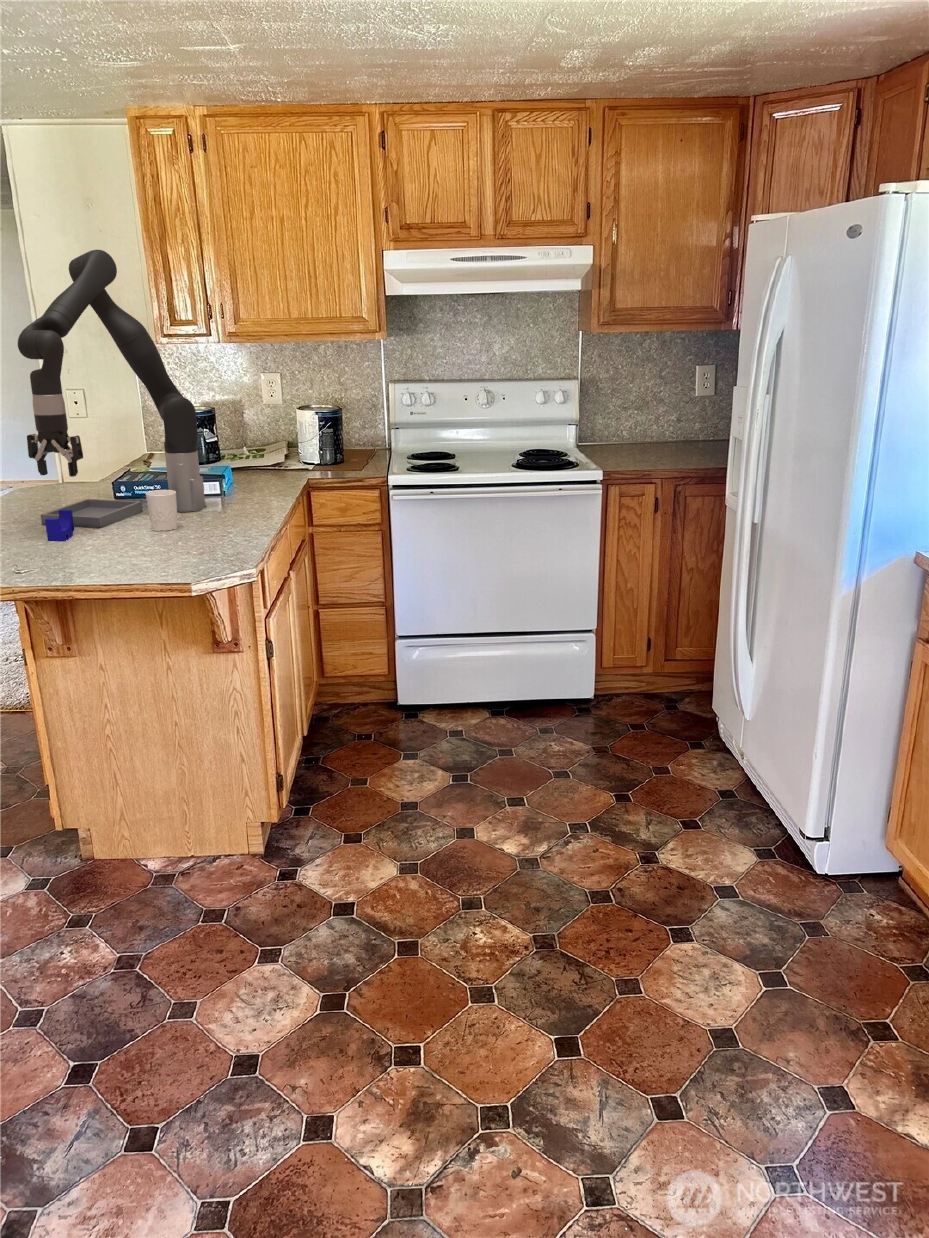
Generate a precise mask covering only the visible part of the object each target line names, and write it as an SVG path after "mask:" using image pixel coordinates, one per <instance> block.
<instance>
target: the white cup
mask: <svg viewBox="0 0 929 1238" xmlns="http://www.w3.org/2000/svg"><path fill="white" fill-rule="evenodd" d="M145 498H146V505H147V511H148V515H149V521H150V526H151V530H152V529H153V530H152V531H154V530H158V531H157V532H161V531H160V530H170V531H172V530H171V529H174V528H176V529H177V528H178V512H177V501H176V491H173V490H169V489H155V490H150V491H147V492H145ZM174 530H175V529H174Z"/></svg>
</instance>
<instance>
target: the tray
mask: <svg viewBox="0 0 929 1238" xmlns="http://www.w3.org/2000/svg"><path fill="white" fill-rule="evenodd" d="M69 509H72V515H73V522H74V528H83V529H84V528H86V529H99V528H101V529H103V528H105V527H108V526H110V524H111V525H113V524H115V522H116V523H118V522H120V521H123V520H125V519H127V518H130V517H133V516H135V515H138V514H140V513H142V512H144V509H143V501H137V500H135V501H134V500H119V499H101V498H100V499H97V498H86V499H83V500H79V501H76V502H74V503H71V504H68V505H65V506H62V507H58V508H56V509H54V510H50V511H46V512H44V513H42V514H40V520H41V526H46V524H45V519H47V518H59V510H69ZM117 521H118V522H117ZM112 523H113V524H112Z"/></svg>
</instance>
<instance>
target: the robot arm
mask: <svg viewBox="0 0 929 1238" xmlns="http://www.w3.org/2000/svg"><path fill="white" fill-rule="evenodd" d="M117 269H118V268H117V264H116V262H115V260H114V259H113V257H112V255H110V254H109V253H108V252H107V251H105V250H103V249H92V250H89V251H87V252H85V253H83V254H80V255H79V256H77V257H74V258H72V259H71V261H70V262H69V264H68V273H69V276H70V278H71V280H72V283H71V284H70V285H69V286H68V287H67V288H65V290H64V291H62V292H61V293H60V294H59V295H57V297H55V299H53V301H52V302H51V303H50V304H49V306H48V307H47V309H46V310H44V313H43V314H42V315H41V316H40V317H38V318H37V319H35V320H33V322H31V323H30V324H28V325H27V326H26V327H25V328H24V329H22V331H21V333H20V334H19V335H18V338H17V347H18V351H19V353H20V354H21V356H23V357H25V358H26V359H29V360H42V366H41V368H39V369H34V370H33V371H31V372H30V375H29V379H30V381H29V382H30V386H31V387H30V388H31V395H32V410H33V415H34V416H33V417H34V422H35V430H36V432H37V434H36V433H30V434H27V435H26V443H27V454H28V458H29V459H33V460H35V461H36V464H37V465H36V467H37V471H38V473H39V475H40V476H47V475H48V473H49V472H48V467H47V466H48V465H47V460H46V457H47V455H48V454H50V453H56V454H60V455H61V456H63V457H64V458H65V459H66V461H68V462H67V467H68V468H67V469H68V474H69V477H71V478H73V477H77V475H78V474H79V470H78V461H80V460H82V459H84V452H83V447H82V442H81V437H80V435H73V436H70V435H69V433H68V430H69V426H68V418H67V411H66V403H65V402H66V401H65V399H64V395H63V388H62V381H61V374H62V368H63V359H64V352H65V345H64V342H63V339H62V338H65V337H66V336H67V335H69V333H70V331H71V330H72V329H73V327H75V325H76V323H77V321H78V320H79V319H80V317H81V316H82V314H83V313H84V312H85V310H86V309H87V308H88V307H89V306H90V307H91V308H92V309H93V311H94V312H95V314H96V315H97V316H98V318H99V319H100V321H101V323H102V324H103V326H104V327H105V329H106V330H107V331H108V333H109V335H110V337H111V339H112V340H113V342H114V344H115V345H116V347H117V348H118V350H119V352H120V353H121V354H122V357H124V359H125V361H126V362H127V364H128V365H129V367H130V368H131V370H132V371H133V372H134V374H135V375H136V376H137V377H138V379H139V380H140V381H141V383H142V384H143V386H144V387H145V388H146V390H147V392H148V394H149V395H150V397H151V399H152V401H153V403H154V406H155V407H156V410H157V412H158V413H159V416H160V418H161V419H162V421H163V429H164V444H163V446H164V457H165V458H164V459H165V467H166V468H165V469H166V478H167V485H168V487H167V488H168V490H173V491H176V501H177V513H178V512H179V513H181V512H182V513H187V512H198V511H200V510H203V509H205V508H206V501H205V489H204V478H203V476H202V475H201V473H200V466H199V465H200V464H199V453H198V443H199V442H198V441H199V436H198V435H199V434H198V422H197V420H198V419H197V413H196V408H195V406H194V403H192V401H191V400H189V399H188V398H187V397H185V396H183V394H182V393H181V391H180V390H179V389H178V388H177V386H176V385H175V384H174V382H173V381H172V379H171V378H170V376H169V374H168V372H167V370H166V367H165V364H164V362H163V359H162V357H161V354H160V352H159V350H158V348H157V346H156V344H155V342H154V340H153V339H152V337H151V335H150V333H149V332H148V330H147V329H146V328H145V326H144V325H143V323H142V322H141V321H139V320H137V319H136V318H135V317H133V316H132V315H131V314H130V313H128V312H127V311H125V310H124V309H122V308H121V307H120V306H119V305H117V304H116V302H115V301H114V299H112V297H111V295H110V294H109V293H108V292H107V290H106V288H107V287H108V286H110V285H111V284H112V283H113V282H114V281H115V279H116V277H117V274H118V270H117ZM38 443H39V444H40V446H39V445H38ZM69 444H70V445H69Z"/></svg>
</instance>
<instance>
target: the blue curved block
mask: <svg viewBox="0 0 929 1238" xmlns="http://www.w3.org/2000/svg"><path fill="white" fill-rule="evenodd" d="M45 524H46V525H45V528H46V529H45V531H46V537H47V542H48V541H58V542H67V541H68V540H70V539H71V538H72V537H74V532H75V527H74V522H73V515H72V509H69V510H59V518H47V519H45ZM66 540H67V541H66Z"/></svg>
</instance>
